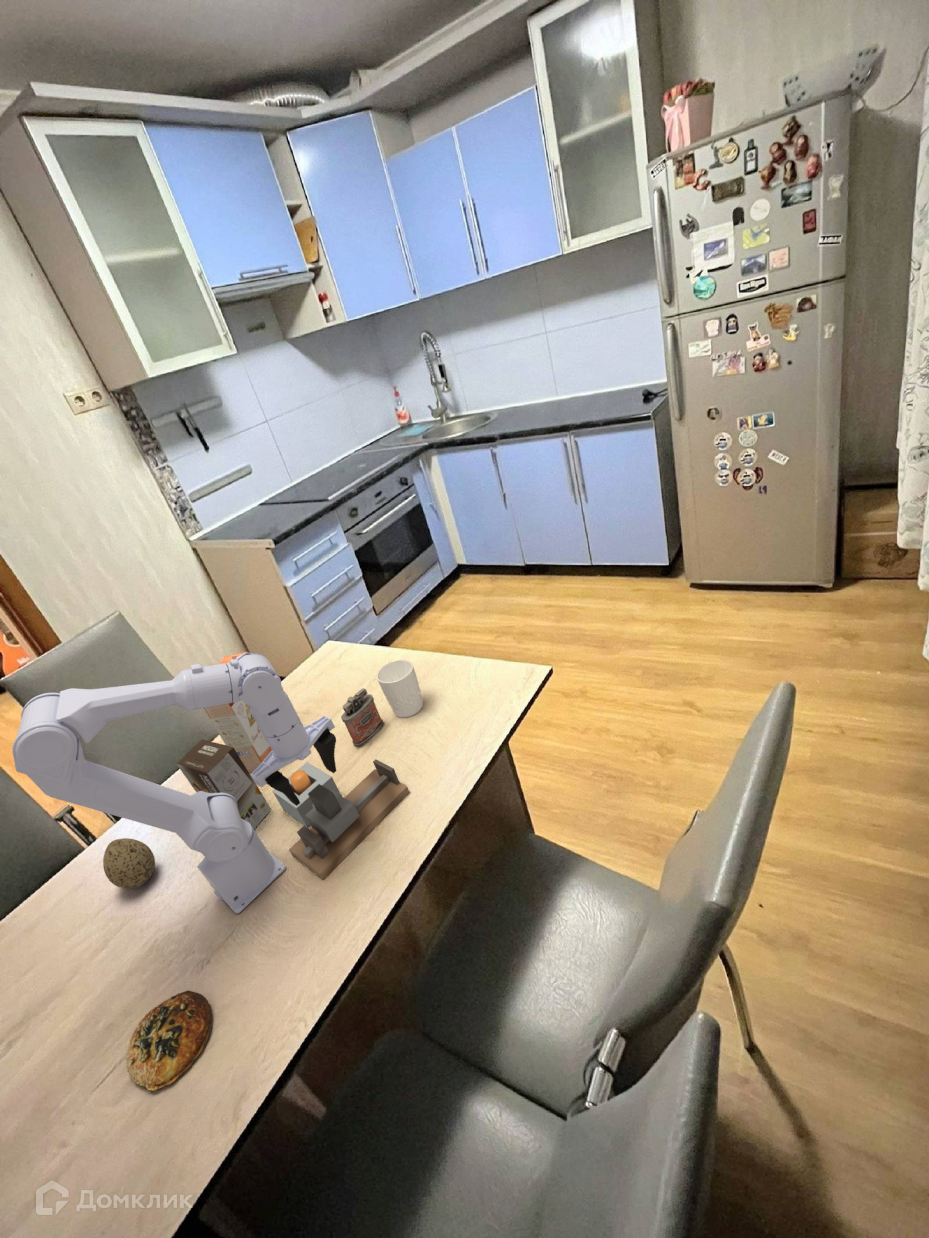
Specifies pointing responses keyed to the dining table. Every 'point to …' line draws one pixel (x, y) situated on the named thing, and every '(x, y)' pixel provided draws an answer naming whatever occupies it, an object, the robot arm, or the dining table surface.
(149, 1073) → the bread roll
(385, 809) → the rail
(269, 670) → the robot arm
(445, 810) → the dining table surface
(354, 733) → the lighter
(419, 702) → the white cup
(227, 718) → the cracker box
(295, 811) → the box
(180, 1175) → the dining table surface
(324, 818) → the carriage
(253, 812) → the coffee box
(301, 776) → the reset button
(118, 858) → the decorative egg
